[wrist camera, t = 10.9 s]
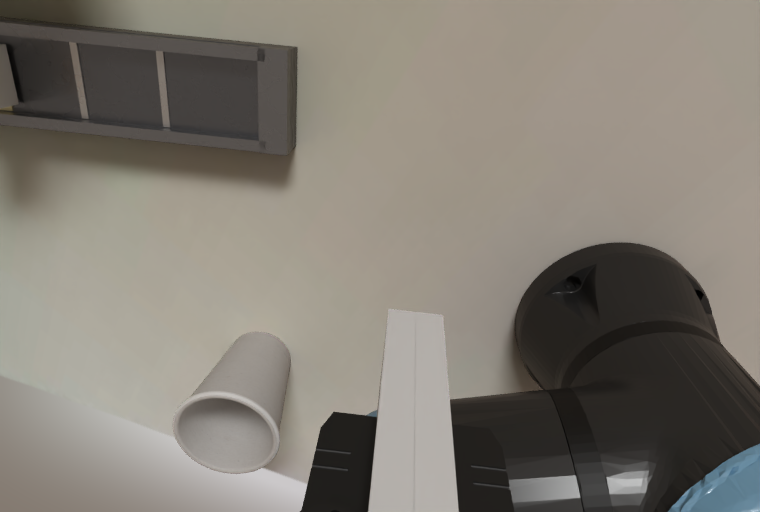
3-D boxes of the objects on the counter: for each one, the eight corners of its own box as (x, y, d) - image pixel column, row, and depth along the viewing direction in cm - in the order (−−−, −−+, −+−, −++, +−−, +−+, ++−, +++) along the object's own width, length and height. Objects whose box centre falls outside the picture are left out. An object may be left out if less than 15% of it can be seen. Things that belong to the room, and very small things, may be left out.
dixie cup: (200, 355, 48) (150, 434, 40) (253, 303, 45) (212, 375, 37) (268, 405, 51) (236, 490, 42) (323, 358, 48) (301, 439, 39)
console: (296, 145, 39) (276, 167, 34) (-62, 107, 40) (-137, 123, 34) (297, 46, 36) (275, 54, 30) (-90, 8, 36) (-178, 8, 31)
